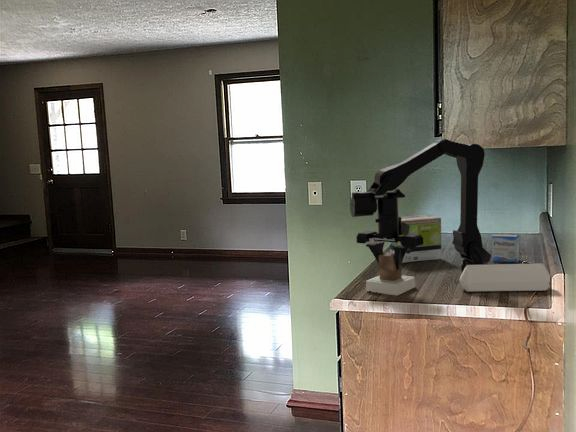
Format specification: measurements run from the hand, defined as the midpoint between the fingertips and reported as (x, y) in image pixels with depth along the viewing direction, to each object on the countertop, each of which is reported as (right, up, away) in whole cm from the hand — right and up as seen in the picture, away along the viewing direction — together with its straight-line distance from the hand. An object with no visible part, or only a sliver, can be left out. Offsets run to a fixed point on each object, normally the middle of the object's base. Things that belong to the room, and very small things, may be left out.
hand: (390, 268), depth 170 cm
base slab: (0, -6, +1) cm, 6 cm away
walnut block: (0, -3, 0) cm, 3 cm away
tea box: (+16, 0, +39) cm, 42 cm away
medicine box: (+43, 0, +27) cm, 51 cm away
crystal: (+30, -6, -6) cm, 31 cm away
